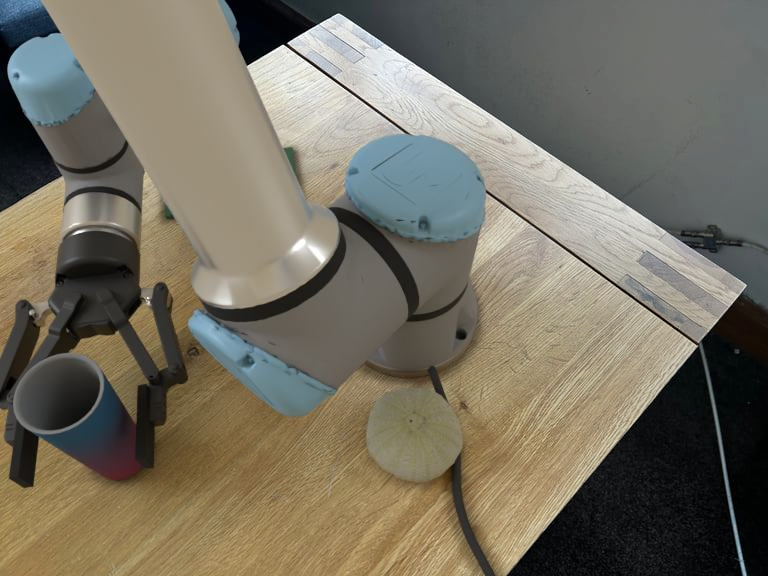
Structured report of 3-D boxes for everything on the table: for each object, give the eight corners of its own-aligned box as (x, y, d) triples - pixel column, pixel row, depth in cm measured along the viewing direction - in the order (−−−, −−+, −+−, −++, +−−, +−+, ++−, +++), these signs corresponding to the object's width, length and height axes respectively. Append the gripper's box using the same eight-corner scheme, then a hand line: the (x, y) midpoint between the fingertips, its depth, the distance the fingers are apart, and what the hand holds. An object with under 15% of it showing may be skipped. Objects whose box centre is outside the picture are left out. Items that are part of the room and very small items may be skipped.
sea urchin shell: (420, 509, 59) (378, 443, 57) (378, 481, 66) (339, 421, 64) (489, 442, 63) (452, 377, 60) (442, 422, 70) (407, 363, 67)
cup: (166, 424, 65) (115, 356, 53) (145, 493, 62) (87, 438, 49) (98, 417, 66) (33, 348, 53) (75, 486, 62) (-2, 429, 49)
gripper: (218, 258, 70) (227, 465, 58) (4, 285, 68) (-33, 506, 56) (203, 213, 63) (209, 436, 52) (-35, 241, 61) (-85, 481, 49)
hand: (83, 472), depth 54 cm, fingers open, 9 cm apart
